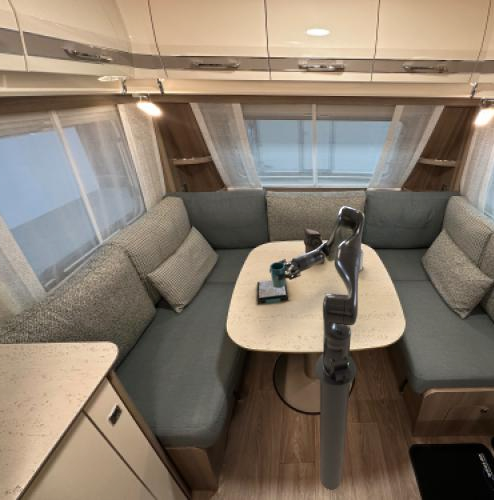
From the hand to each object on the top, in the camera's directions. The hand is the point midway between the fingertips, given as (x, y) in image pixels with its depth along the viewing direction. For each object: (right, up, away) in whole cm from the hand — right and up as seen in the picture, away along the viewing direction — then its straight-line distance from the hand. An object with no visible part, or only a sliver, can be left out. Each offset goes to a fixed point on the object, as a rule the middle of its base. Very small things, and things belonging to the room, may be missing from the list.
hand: (273, 275), depth 121 cm
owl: (+20, +6, +46) cm, 50 cm away
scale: (-4, -11, +17) cm, 21 cm away
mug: (+42, 0, +35) cm, 55 cm away
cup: (+2, -4, +4) cm, 6 cm away
